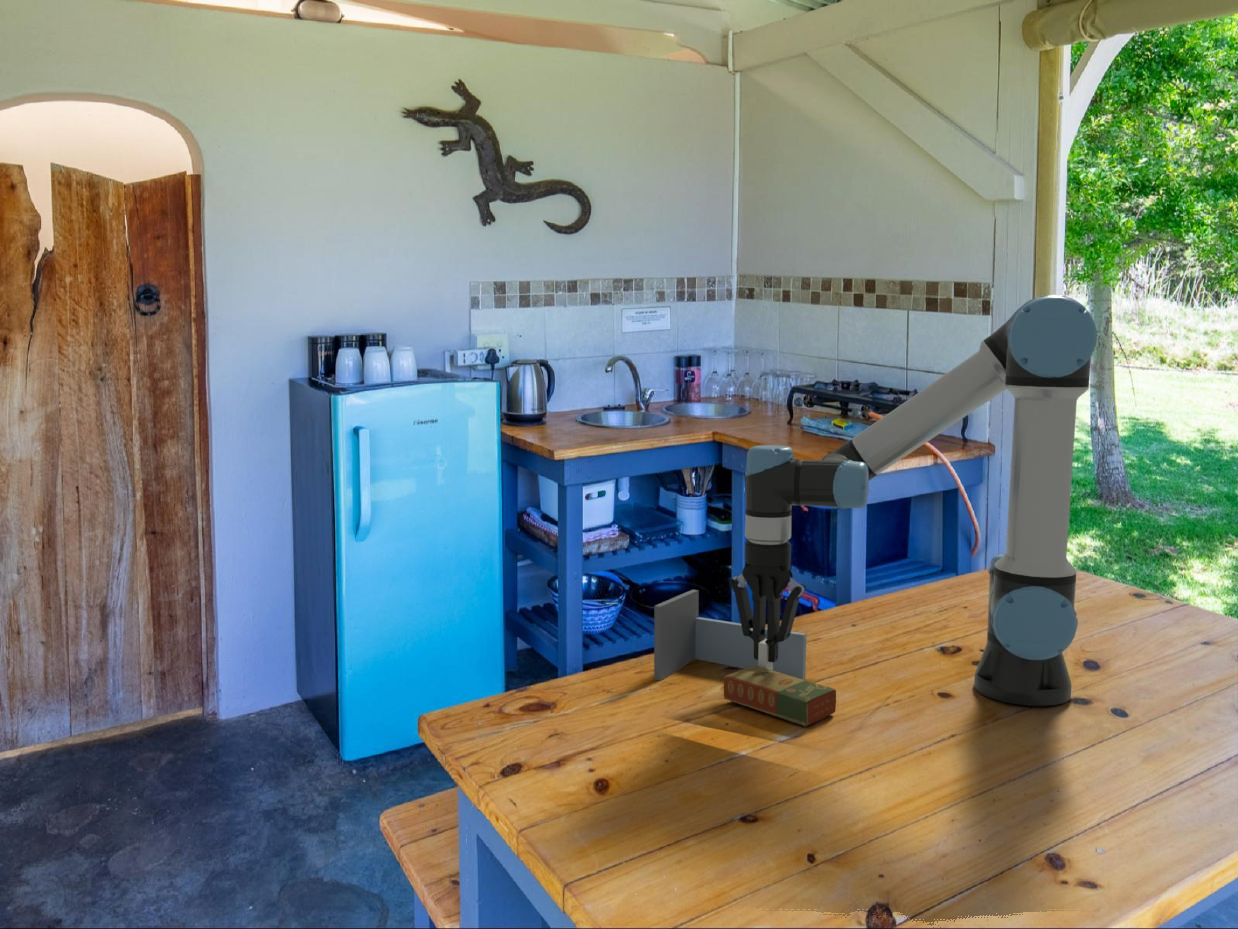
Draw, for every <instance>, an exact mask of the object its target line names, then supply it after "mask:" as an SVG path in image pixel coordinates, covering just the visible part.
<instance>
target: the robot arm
mask: <svg viewBox="0 0 1238 929" xmlns="http://www.w3.org/2000/svg"><path fill="white" fill-rule="evenodd" d="M1097 330H1098V329H1097V327H1096V322H1095V320H1094V319H1093V316H1092V314H1091V313H1090V311H1089V310H1088V309H1087V308H1086V307H1085V306H1084V305H1083V304H1082V303H1080V302H1079V301H1077V300H1076V299H1074V298H1072V297H1068V296H1066V295H1060V294H1059V295H1057V294H1048V295H1039V296H1037V297H1034V298H1032V299H1029V300H1028V301H1026V302H1025V303H1024V304H1022V305H1021V306H1020V307H1019V308H1018V309H1017V310H1016V311H1015V312H1014V313H1012V315H1011V316H1010V317H1009V319H1007V321H1006V322H1004V324H1003V325H1001V326H1000V327H999V328H997V330H995V331H994V332H993V333H992V334H990V335H989V336H987V337H986V338H984V339H983V340H981V342H980V345H979V350H978V351H977V352H975V353H974V354H972V355H970V356H969V357H968V358H967V359H965V360H963V361H962V362H961V363H959V364H958V365H956V366H955V367H954V368H952V369H951V370H949V371H948V372H946V373H944V375H941V377H939V378H938V379H936V380H935V381H933V382H932V383H931V384H929V385H928V386H926V387H925V388H923V389H922V390H920V391H919V392H917V393H916V394H915V395H913V396H912V397H910V398H909V399H907V400H905V402H903V403H902V404H900V405H898V406H897V407H895V409H892V410H891V411H890V412H889V413H887V414H885V415H884V416H883V417H881V418H879V419H878V420H877V421H875V422H874V423H873V424H871V425H870V426H868V427H867V428H865V429H863V431H861V432H860V433H858V434H857V435H856V436H854V437H853V438H852V439H850V440H849V441H847V442H845V443H844V444H842V445H840V446H839V447H838V448H837V449H835V450H833V451H831V452H829V453H828V454H826V455H825V456H823V457H822V459H799V458H795V456H794V451H793V448H792V447H790V446H787V445H777V444H776V445H775V444H760V445H755V446H752V447H751V448H749V449H748V451H747V455H746V466H745V467H746V469H745V473H744V476H745V519H744V537H745V538H746V539H747V540H746V541H745V542H744V567H743V568H742V570H741V571H742V572H741V574H739V575H736V576H734V577H732V578H730V579H729V581H728V582H729V585H730V587H731V589H732V590H733V592H734V596H735V602H736V605H737V612H738V615H739V616H738V617H739V620H740V624H741V626H742V631H743V635H744V636H749V637H750V638H752V639H753V641H754V659H755V660H758V666H759V667H762V668H766V669H769V670H772V671H773V663H774V662H775V661H777V659H778V643H779V642H783V641H784V640H786V639H787V638H789V637H790V633H791V631H792V628H793V625H794V622H795V617H796V614H797V610H798V607H799V602H800V599H801V597H802V595H803V594H804V593H805V591H806V590H807V588H806V585H805V584H803V583H802V584H801V583H799V582H797V581H796V580H795V579H794V576H793V572H792V571H791V563H792V559H791V558H792V544H791V542H790V541H789V540H790V539H791V538H792V514H793V512H792V507H793V506H800V507H801V506H803V507H804V506H805V507H806V506H807V507H821V508H823V507H824V508H837V509H838V508H839V509H842V510H847V509H861V508H864V507H865V506H866V505H867V502H868V495H869V481H871V480H873V479H875V477H876V476H878V475H880V474H881V473H882V472H884V471H886V470H887V469H888V468H890V467H892V466H894V465H895V464H896V463H897V462H899V461H900V460H902V459H904V458H905V457H907V456H908V455H910V454H911V453H913V452H914V451H916V450H918V448H920V447H922V446H924V444H926V443H928V442H929V441H930V440H933V439H934V438H935V437H936V436H938V435H940V434H941V433H943V432H944V431H946V430H947V429H949V428H950V427H952V426H953V425H955V424H957V422H959V421H960V420H962V419H964V418H965V417H967V416H968V415H970V414H971V413H972V412H973V413H974V411H976V410H978V409H979V408H980V407H982V406H984V405H985V404H986V403H988V402H990V401H991V400H992V399H993V398H995V397H997V396H998V395H999V394H1001V393H1003V392H1004V391H1006V390H1008V391H1009V393H1010V394H1011V395H1013V398H1014V408H1013V409H1014V410H1013V411H1014V412H1013V425H1012V426H1013V427H1012V442H1011V443H1012V445H1011V460H1010V476H1009V477H1010V478H1009V492H1008V494H1009V495H1008V509H1007V510H1008V513H1007V526H1006V528H1007V530H1006V542H1005V544H1006V545H1005V554H1003V553H1002V554H996V555H994V556H992V557H991V560H990V566H989V569H988V574H989V581H988V582H989V585H988V586H989V588H988V606H987V610H988V612H987V633H986V634H987V635H986V636H987V637H986V645H985V647H984V649H983V652H982V655H981V657H980V660H979V662H978V664H977V668H976V670H975V671H974V684H973V685H974V686H973V687H974V689H975V690H976V692H978V693H979V694H981V695H982V696H985V697H987V698H990V699H992V700H996V701H1000V702H1004V703H1009V704H1014V705H1021V706H1022V705H1024V706H1031V707H1033V706H1035V707H1036V706H1037V707H1039V706H1041V707H1042V706H1043V707H1045V706H1056V705H1060V704H1061V705H1062V704H1065V703H1066V702H1068V701H1070V700H1071V697H1072V687H1073V686H1072V680H1071V677H1070V674H1069V670H1068V668H1067V663H1066V660H1065V656H1064V653H1063V652H1064V651H1066V650H1067V649H1068V647H1070V645H1071V644H1072V643H1073V640H1074V639H1075V636H1076V633H1077V630H1078V624H1079V622H1078V620H1079V619H1078V617H1077V612H1076V609H1075V602H1076V600H1075V598H1076V586H1077V569H1076V567H1074V565H1073V564H1072V563H1071V562H1069V560H1068V558H1067V554H1068V540H1069V539H1068V538H1069V522H1070V509H1071V507H1070V506H1071V491H1072V479H1073V464H1074V463H1073V462H1074V448H1075V447H1074V446H1075V432H1076V418H1077V417H1076V416H1077V402H1078V400H1079V398H1080V397H1081V396H1082V395H1084V393H1086V392H1087V391H1088V390H1089V389H1090V375H1091V361H1092V355H1093V353H1094V351H1095V347H1096V346H1097V341H1098V340H1097V339H1098V332H1097ZM747 585H748V587H749V589H750V590H751V601H752V606H753V607H752V606H751V602H750V596H749V592H748V588H747ZM787 587H788V589H787V590H788V591H787V593H788V594H789V595H788V597H787V599H786V602H785V607H784V611H783V612H782V613H783V614H782V617H781V601H782V596H783V595H782V594H783V592H784V591H785V590H786V588H787ZM766 609H767V610H766ZM766 611H767V612H766ZM766 613H767V614H766ZM766 615H767V617H766ZM766 618H767V621H766ZM766 622H767V623H766ZM766 625H767V627H766ZM765 627H766V628H767V634H766V635H765ZM766 636H767V639H764V637H766Z"/></svg>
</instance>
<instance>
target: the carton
mask: <svg viewBox="0 0 1238 929" xmlns="http://www.w3.org/2000/svg"><path fill="white" fill-rule="evenodd" d="M723 698H724V700H727V701H730V702H734V703H736V704H738V705H742V706H745V707H749V708H751V709H754V710H756V711H760V712H763V713H765V714H768V715H771V716H773V717H777V718H779V719H782V720H785V721H787V722H791V723H794V724H797V725H799V726H802V727H808V726H810V725H813V724H814V723H816V722H818V721H820V720H823V719H824V718H826V717H828V716H831V715H833V714H834V713H836V706H837V691H836V688H833V687H829V686H826V685H823V684H821V683H820V684H819V683H816V682H813V681H809V680H805V679H804V680H803V679H799V678H796V677H792V676H789V675H786V674H782V673H779V672H776V671H772V670H769V669H766V668H762V667H759V666H755V665H754V666H750V667H747V668H745V669H742V668H741V669H739V670H737V671H735V672H732V673H729V674H727V675H725V676H724V679H723Z"/></svg>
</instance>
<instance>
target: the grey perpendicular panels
mask: <svg viewBox="0 0 1238 929" xmlns="http://www.w3.org/2000/svg"><path fill="white" fill-rule="evenodd" d="M699 593H700V592H699V590H698V589H691V590H689V591H686V592H683V593H681V594H679V595H676V596H674V597H671V598H670V599H668V600H665V601H662V602H661V603H658V604H655V605H654V610H653V611H654V615H653V617H654V618H653V619H654V623H653V624H654V628H653V630H654V632H653V634H654V636H653V637H654V639H653V640H654V642H653V643H654V644H653V649H654V650H653V651H654V652H653V654H654V655H653V656H654V657H653V658H654V664H653V666H654V667H653V668H654V669H653V680H655V681H659V682H660V681H662V680H664V679H666V678H668V677H669V676H671V675H674V674H675V673H677V672H678V671H680V670H681V669H683V668H684V667H685V666H687V665H689V664H690V663H692V661H694V660H699V661H704V662H709V663H712V664H713V663H714V664H719V665H723V664H724V665H723V666H728V665H729V666H728V667H731V668H732V667H734V668H737V667H738V669H742V668H743V669H745V668H747V667H750V666H754V665H755V666H758V660H755V659H754V641H753V639H752V638H750V637H749V636H744V635H743V631H742V626H741V622H732V621H725V620H719V619H712V618H706V617H700V616H699V606H700V605H699V602H700V601H699V598H700V596H699ZM766 634H767V627H766V626H765V635H766ZM764 639H767V636H766V637H764ZM806 663H807V633H803V632H797V631H792V630H791V633H790V637H789V638H787V639H786V640H784V641H783V642H779V643H778V659H777V661H775V662H774V663H773V671H776V672H779V673H782V674H786V675H789V676H792V677H796V678H799V679H803V680H805V679H806V674H807V673H806V670H807V669H806V668H807V667H806Z"/></svg>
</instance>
